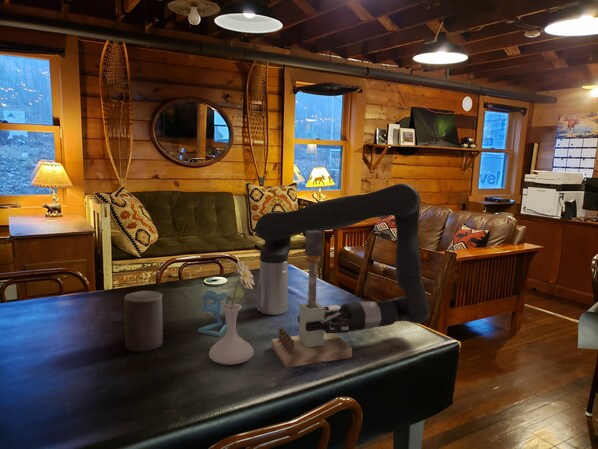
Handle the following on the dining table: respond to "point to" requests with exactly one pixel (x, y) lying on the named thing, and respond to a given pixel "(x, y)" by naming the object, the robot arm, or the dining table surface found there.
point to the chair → (214, 312)
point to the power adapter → (333, 307)
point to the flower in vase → (234, 326)
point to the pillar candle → (143, 321)
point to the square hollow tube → (310, 316)
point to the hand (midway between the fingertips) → (302, 323)
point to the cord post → (291, 347)
